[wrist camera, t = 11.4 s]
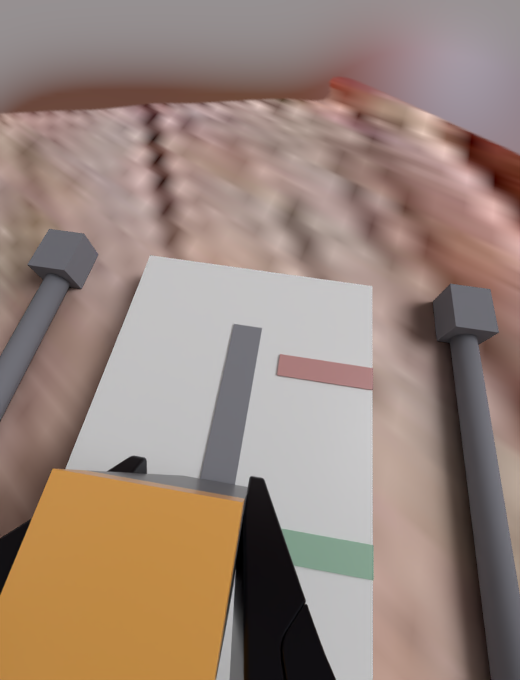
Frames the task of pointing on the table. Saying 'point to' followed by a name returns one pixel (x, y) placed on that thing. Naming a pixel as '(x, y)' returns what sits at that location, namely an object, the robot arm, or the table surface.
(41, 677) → the breaker lever
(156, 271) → the breaker panel
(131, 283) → the table surface
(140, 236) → the table surface
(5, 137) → the table surface
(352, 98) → the table surface
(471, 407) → the pair of grey rods
